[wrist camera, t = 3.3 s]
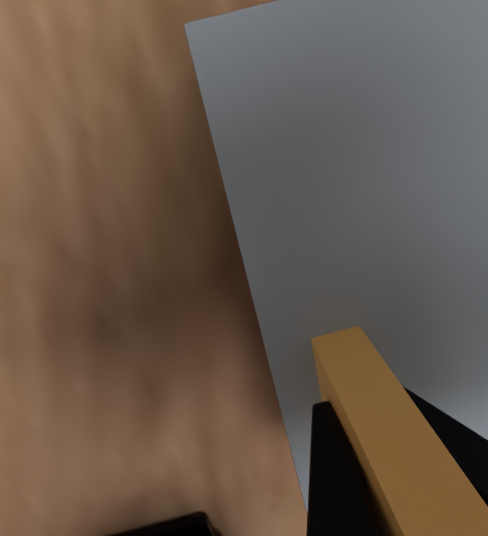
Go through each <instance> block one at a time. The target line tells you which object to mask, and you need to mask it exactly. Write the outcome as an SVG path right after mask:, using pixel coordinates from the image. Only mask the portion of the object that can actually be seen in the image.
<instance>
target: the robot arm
mask: <svg viewBox="0 0 488 536" xmlns="http://www.w3.org/2000/svg"><path fill="white" fill-rule="evenodd" d="M403 388H404V389H405V391H406V392H407V394H408V395H409V396H410V398H411V399H412V401H413V402H414V403H415V405H416V406H417V408H418V409H419V410H420V412H421V413H422V415H423V416H424V417H425V419H426V420H427V422H428V423H429V425H430V426H431V427H432V429H433V430H434V432H435V433H436V434H437V436H438V437H439V439H440V440H441V441H442V443H443V444H444V446H445V447H446V448H447V450H448V451H449V453H450V454H451V456H452V457H453V458H454V460H455V461H456V463H457V464H458V465H459V467H460V468H461V470H462V471H463V472H464V474H465V475H466V477H467V478H468V480H469V481H470V482H471V484H472V485H473V487H474V488H475V489H476V491H477V492H478V494H479V495H480V496H481V498H482V499H483V501H484V502H485V503H486V505H487V506H488V440H487V439H485V438H484V437H482V436H481V435H479V434H478V433H476V432H474V431H473V430H471V429H470V428H468V427H467V426H465V425H463V424H462V423H460V422H459V421H457V420H456V419H454V418H453V417H451V416H449V415H448V414H446V413H445V412H443V411H442V410H440V409H438V408H437V407H435V406H434V405H432V404H431V403H429V402H427V401H426V400H424V399H423V398H421V397H420V396H418V395H416V394H415V393H413V392H412V391H410V390H409V389H407V388H405V387H404V386H403ZM123 536H216V535H215V533H214V531H213V529H212V527H211V525H210V522H209V520H208V518H207V517H205V516H201V515H200V516H194V517H191V518H187V519H183V520H179V521H176V522H172V523H168V524H165V525H161V526H157V527H153V528H150V529H146V530H142V531H138V532H135V533H131V534H127V535H123ZM307 536H379V535H378V532H377V528H376V525H375V521H374V518H373V515H372V511H371V508H370V505H369V501H368V498H367V495H366V491H365V488H364V485H363V481H362V478H361V475H360V471H359V468H358V465H357V461H356V458H355V455H354V452H353V449H352V446H351V444H350V441H349V439H348V437H347V435H346V433H345V431H344V429H343V427H342V425H341V423H340V421H339V419H338V417H337V415H336V413H335V411H334V409H333V407H332V405H331V403H330V402H329V401H323V402H319V403H315V404H313V406H312V422H311V445H310V468H309V491H308V514H307Z"/></svg>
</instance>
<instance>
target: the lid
mask: <svg viewBox="0 0 488 536" xmlns="http://www.w3.org/2000/svg"><path fill="white" fill-rule="evenodd" d="M184 29H185V34H186V38H187V42H188V46H189V49H190V53H191V57H192V61H193V65H194V69H195V73H196V77H197V81H198V85H199V89H200V93H201V97H202V101H203V105H204V109H205V113H206V117H207V121H208V125H209V129H210V133H211V136H212V140H213V144H214V148H215V152H216V156H217V160H218V164H219V168H220V172H221V176H222V180H223V184H224V188H225V192H226V196H227V200H228V204H229V208H230V212H231V216H232V220H233V223H234V227H235V231H236V235H237V239H238V243H239V247H240V251H241V255H242V259H243V263H244V267H245V271H246V275H247V279H248V283H249V287H250V291H251V295H252V299H253V303H254V307H255V311H256V314H257V318H258V322H259V326H260V330H261V334H262V338H263V342H264V346H265V350H266V354H267V358H268V362H269V366H270V370H271V374H272V378H273V382H274V386H275V390H276V394H277V398H278V401H279V405H280V409H281V413H282V417H283V421H284V425H285V429H286V433H287V437H288V441H289V445H290V449H291V453H292V457H293V461H294V465H295V469H296V473H297V477H298V481H299V485H300V488H301V492H302V496H303V500H304V504H305V508H306V512H307V514H308V491H309V468H310V445H311V422H312V406H313V404H315V403H319V402H323V401H329V402H330V403H331V405H332V407H333V409H334V411H335V413H336V415H337V417H338V419H339V421H340V423H341V425H342V427H343V429H344V431H345V433H346V435H347V437H348V439H349V441H350V444H351V446H352V449H353V452H354V455H355V458H356V461H357V465H358V468H359V471H360V475H361V478H362V481H363V485H364V488H365V491H366V495H367V498H368V501H369V505H370V508H371V511H372V515H373V518H374V521H375V525H376V528H377V532H378V535H379V536H488V506H487V505H486V503H485V502H484V501H483V499H482V498H481V496H480V495H479V494H478V492H477V491H476V489H475V488H474V487H473V485H472V484H471V482H470V481H469V480H468V478H467V477H466V475H465V474H464V472H463V471H462V470H461V468H460V467H459V465H458V464H457V463H456V461H455V460H454V458H453V457H452V456H451V454H450V453H449V451H448V450H447V448H446V447H445V446H444V444H443V443H442V441H441V440H440V439H439V437H438V436H437V434H436V433H435V432H434V430H433V429H432V427H431V426H430V425H429V423H428V422H427V420H426V419H425V417H424V416H423V415H422V413H421V412H420V410H419V409H418V408H417V406H416V405H415V403H414V402H413V401H412V399H411V398H410V396H409V395H408V394H407V392H406V391H405V389H404V388H403V386H404V387H405V388H407V389H409V390H410V391H412V392H413V393H415V394H416V395H418V396H420V397H421V398H423V399H424V400H426V401H427V402H429V403H431V404H432V405H434V406H435V407H437V408H438V409H440V410H442V411H443V412H445V413H446V414H448V415H449V416H451V417H453V418H454V419H456V420H457V421H459V422H460V423H462V424H463V425H465V426H467V427H468V428H470V429H471V430H473V431H474V432H476V433H478V434H479V435H481V436H482V437H484V438H485V439H487V440H488V0H276V1H272V2H268V3H264V4H260V5H256V6H252V7H248V8H244V9H240V10H236V11H233V12H229V13H225V14H221V15H217V16H213V17H209V18H205V19H201V20H197V21H193V22H189V23H185V24H184Z"/></svg>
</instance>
